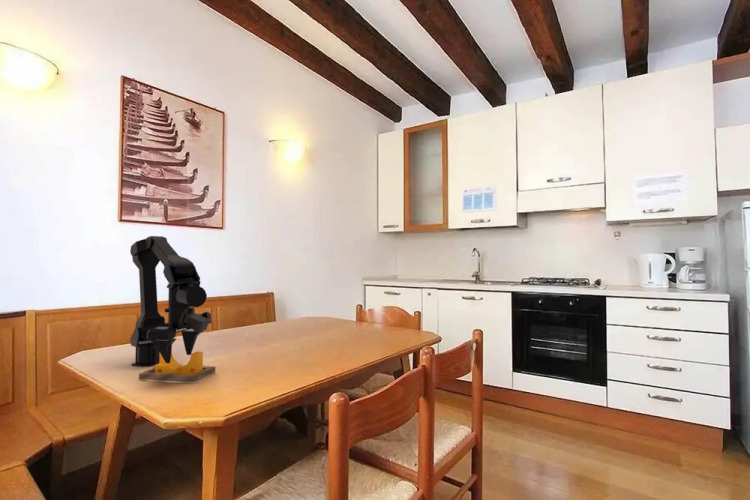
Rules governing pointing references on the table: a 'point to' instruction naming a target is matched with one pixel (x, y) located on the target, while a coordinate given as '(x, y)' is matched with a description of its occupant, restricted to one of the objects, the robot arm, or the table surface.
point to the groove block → (176, 376)
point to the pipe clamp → (176, 368)
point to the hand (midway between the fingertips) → (178, 358)
